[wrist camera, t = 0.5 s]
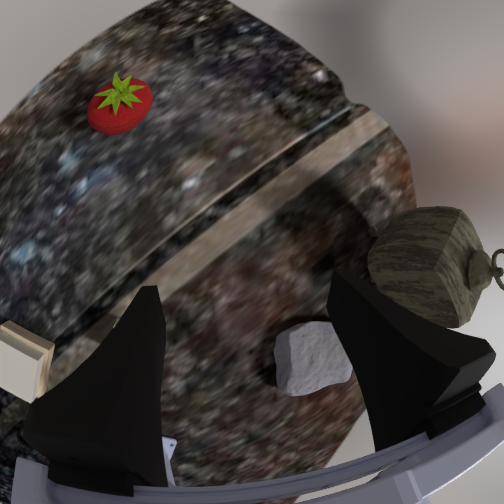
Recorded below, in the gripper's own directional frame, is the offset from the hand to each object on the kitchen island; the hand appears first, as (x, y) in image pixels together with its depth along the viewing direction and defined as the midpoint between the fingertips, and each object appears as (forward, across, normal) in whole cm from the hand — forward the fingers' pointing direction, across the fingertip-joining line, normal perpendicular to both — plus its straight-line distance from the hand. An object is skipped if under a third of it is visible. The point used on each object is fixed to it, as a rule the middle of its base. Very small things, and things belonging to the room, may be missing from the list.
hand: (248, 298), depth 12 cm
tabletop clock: (+24, -24, +18) cm, 38 cm away
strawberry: (+28, +12, -4) cm, 30 cm away
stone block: (+16, -11, +25) cm, 32 cm away
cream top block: (+9, +26, +16) cm, 31 cm away
